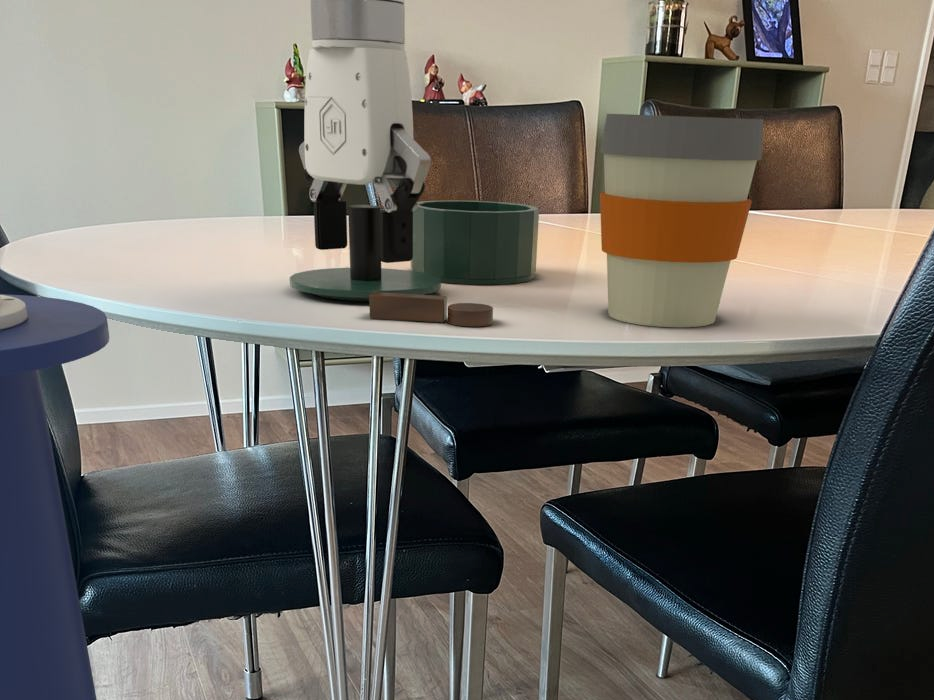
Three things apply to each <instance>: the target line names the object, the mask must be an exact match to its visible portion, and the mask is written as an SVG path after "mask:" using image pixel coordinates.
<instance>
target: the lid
mask: <svg viewBox="0 0 934 700" xmlns="http://www.w3.org/2000/svg"><path fill="white" fill-rule="evenodd" d="M347 210H348V213H347V214H348V215H347V216H348V237H349V238H348V243H349V244H348V245H349V249H348V251H349V267H331V268H319V269H311V270H305V271H300V272H297V273H294V274H292V275H291V276H289V285H290V287H291V288H292V289H294V290H296V291H298V292H303V293H308V294H312V295H315V296H317V297H321V298H325V299H329V300H336V301H347V302H364V303H365V302H367V303H368V302H369V296H370V295H371V294H372V293H374V292H382V293H400V294H418V295H430V294H433V293H435V292H438V291H439V290H441V288H442V282H441V280H440V279H439V278H438V277H436V276H433V275H430V274H426V273H421V272H415V271H412V270H406V269H398V268H397V269H396V268H383V267H382V261H381V260H380V245H379V212H381V206H379V205H373V204H352V205H348V208H347Z"/></svg>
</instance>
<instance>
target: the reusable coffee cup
mask: <svg viewBox="0 0 934 700" xmlns="http://www.w3.org/2000/svg"><path fill="white" fill-rule="evenodd" d="M763 136H764V119H761V118H739V117H738V118H737V117H736V118H734V117H709V116H708V117H707V116H683V115H682V116H681V115H680V116H679V115H656V114H655V115H653V114H630V113H629V114H627V113H606V116H605V122H604V128H603V134H602V138H601V144H600V151H599V153H600V154H603V167H604V168H603V170H604V191H602V192H600V193H599V203H600V204H599V206H600V207H599V208H600V237H601V238H600V239H601V241H600V243H601V244H600V245H601V251H602V252H603V253H604V254H606V271H607V272H606V275H607V278H606V279H607V311H608V316H609V317H610V318H612V319H614V320H617V321H620V322H624V323H628V324H633V325H638V326H639V325H640V326H647V327H648V326H649V327H660V328H696V327H697V328H698V327H704V326H710V325H712V324H714V323H715V321H716V318H717V314H718V310H719V307H720V302H721V299H722V295H723V292H724V287H725V284H726V281H727V276H728V273H729V269H730V265H731V261H733V260H736V259H737V258H738V254H739V250H740V247H741V243H742V240H743V239H742V238H743V236H744V231H745V228H746V224H747V220H748V216H749V214H750V209H751V205H752V203H753V200H752V199H749V198H748V197H749V192H750V190H751V189H750V188H751V185H752V181H753V177H754V174H755V170H756V166H757V162H758V161H761V160H762V155H763V154H762V153H763Z"/></svg>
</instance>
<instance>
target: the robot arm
mask: <svg viewBox="0 0 934 700" xmlns="http://www.w3.org/2000/svg"><path fill="white" fill-rule="evenodd" d="M405 7H406V6H405V0H310V22H311V23H310V24H311V40H312V41H311V48H309V52H308V59H307V65H306V67H307V68H306V74H305V87H304V121H303V122H304V123H303V124H304V128H303V129H304V130H303V131H304V133H303V134H304V136H303V137H304V141H302V142H301V144H300V145H299V147H298V153H299V157H300V160H301V163H302V166H303V169H304V171H303V176H304V179H305V181H306V183H307V186H308V187H309V192H308V193H309V199H310V200H311V202H313V220H314V221H313V222H314V223H313V224H314V247H315V248H316V249H317V250H319V251H320V250H321V251H324V250H340V249H342V250H343V249H346V248H347V246H348V217H347V216H348V215H347V214H348V213H347V201H346V200H341V199H342V198H343V195H344V192H345V190H346V188H347V185H359V186H360V185H362V186H364V185H369V184H371V183H372V184H373V186H374V189H375V190H376V193H377V194H378V197H379V200H380V201H381V204H382V207H383V208H384V210H385V211H380V212H379V245H380V260H381V263H384V264H391V263H392V264H393V263H403V262H411V260H412V258H413V212H414V211H416V210H417V208H418V202H419V199H420V198H421V197H422V195H423V193H424V191H425V186H426V185H425V182H426V179H427V178H428V177H427V176H428V173H429V170H430V167H431V164H432V158H431V156H430V154H429V153H428V152H427V151H426V150H425V149H424V148H423V147H422V146H421V145H420V144H419V143H418V142H417V141H416V140H415V139H414V117H413V115H414V113H413V100H412V98H413V97H412V90H411V89H412V87H411V79H410V70H409V65H408V64H409V63H408V58H407V57H408V56H407V51H406V50H405V49H406V48H405V47H406V39H405V38H406V37H405V35H406V34H405V33H406V32H405V31H406V28H405V27H406V23H405V21H406V20H405V19H406V18H405V15H406V14H405V13H406V11H405ZM392 188H395V190H394V191H393V189H392ZM27 317H28V314H27V310H26V305H25V303H24V302H23V301H21V300H20V299H17V298H14V297H10V296H5V295H0V330H4V329H8V328H12V327H14V326H17V325H19V324H21V323H23V322H24V321H26V319H27Z"/></svg>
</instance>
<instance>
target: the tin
mask: <svg viewBox="0 0 934 700" xmlns="http://www.w3.org/2000/svg"><path fill="white" fill-rule="evenodd" d="M539 220H540V208H538V207H536V206H533V205H528V204H523V203H515V202H503V201H485V200H459V199H458V200H457V199H456V200H452V199H451V200H423V201H418V208H417V210H416V211H414V212H413V258H412V260H411V261H410V269H411V271H415V272H421V273H426V274H430V275H433V276H436V277H438V278H439V279H440V280H441V283H446V284H456V285H457V284H458V285H474V286H475V285H479V286H480V285H485V286H486V285H487V286H488V285H489V286H491V285H493V286H494V285H512V284H519V283H520V284H521V283H526V282H529V281H532V280H534V279H535V273H537V258H538V257H537V256H538V237H539Z"/></svg>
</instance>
